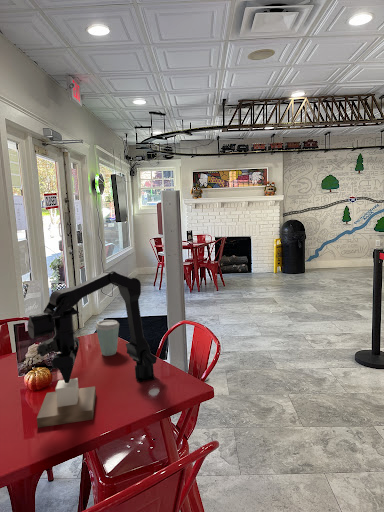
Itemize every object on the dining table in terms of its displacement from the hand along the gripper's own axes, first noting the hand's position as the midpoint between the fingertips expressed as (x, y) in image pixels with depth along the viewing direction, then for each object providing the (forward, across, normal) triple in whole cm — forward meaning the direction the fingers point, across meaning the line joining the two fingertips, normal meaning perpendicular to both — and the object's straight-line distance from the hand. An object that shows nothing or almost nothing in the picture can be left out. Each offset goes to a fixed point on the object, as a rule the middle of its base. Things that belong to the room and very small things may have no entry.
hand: (68, 376), depth 116 cm
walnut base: (+11, +1, -1) cm, 11 cm away
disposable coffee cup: (+11, -45, +11) cm, 48 cm away
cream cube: (+8, +1, -1) cm, 8 cm away
